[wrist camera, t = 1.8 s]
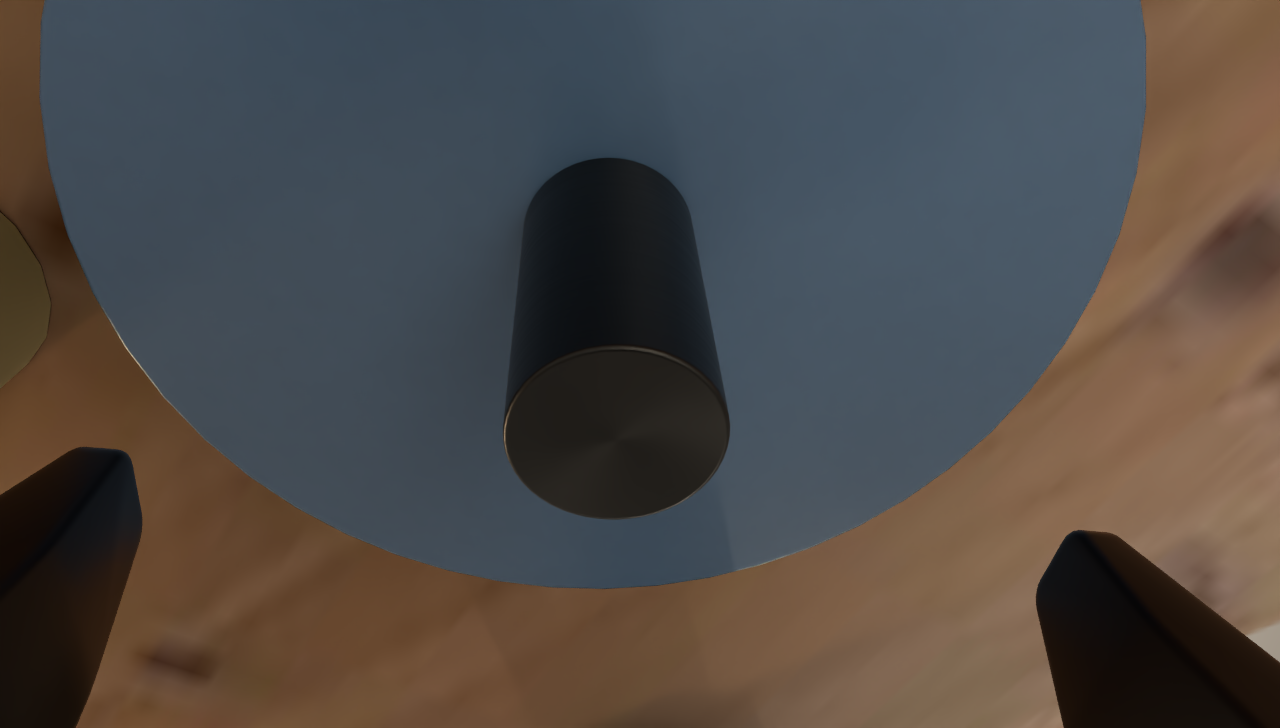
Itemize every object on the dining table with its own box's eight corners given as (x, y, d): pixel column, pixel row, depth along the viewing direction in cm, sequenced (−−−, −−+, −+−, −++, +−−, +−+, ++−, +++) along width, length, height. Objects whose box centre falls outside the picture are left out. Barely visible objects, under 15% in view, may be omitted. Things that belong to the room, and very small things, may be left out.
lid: (918, 573, 20) (1015, 840, 16) (149, 514, 18) (6, 801, 14) (1329, -298, 11) (1813, -265, 7) (-51, -588, 10) (-623, -805, 5)
